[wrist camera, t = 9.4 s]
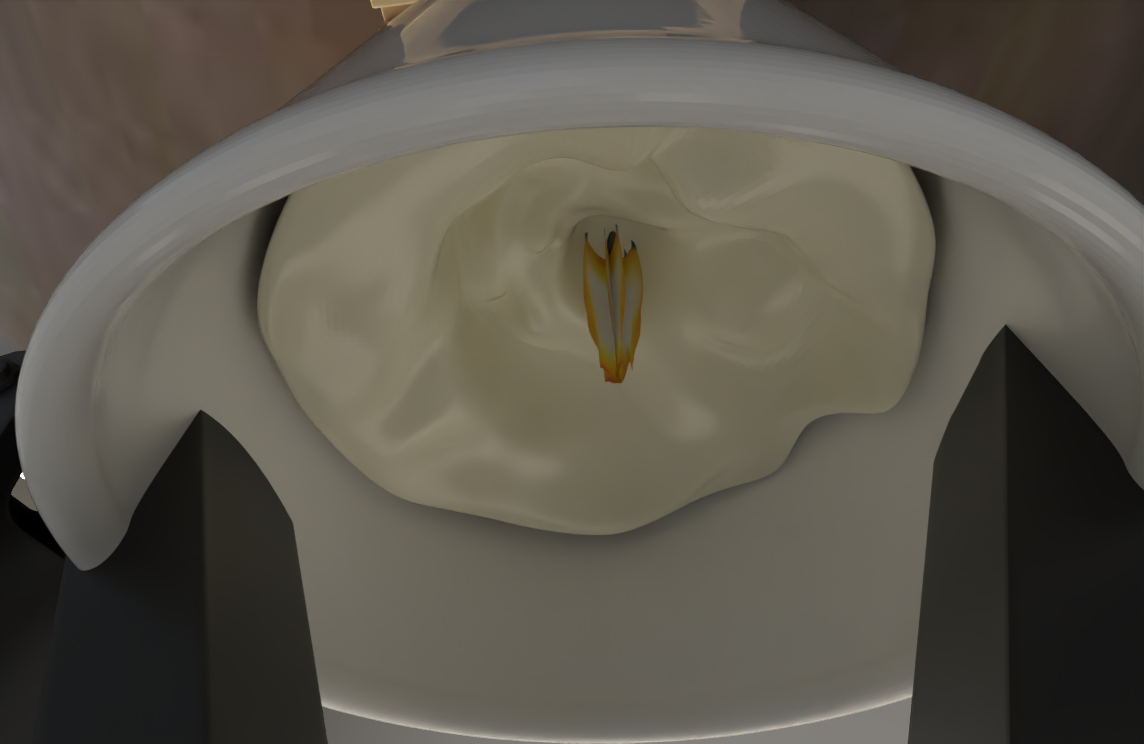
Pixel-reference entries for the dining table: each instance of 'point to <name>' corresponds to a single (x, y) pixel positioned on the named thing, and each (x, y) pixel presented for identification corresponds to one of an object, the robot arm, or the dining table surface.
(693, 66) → the candle holder
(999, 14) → the dining table surface
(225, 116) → the dining table surface
